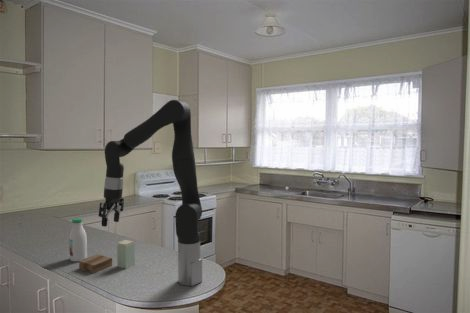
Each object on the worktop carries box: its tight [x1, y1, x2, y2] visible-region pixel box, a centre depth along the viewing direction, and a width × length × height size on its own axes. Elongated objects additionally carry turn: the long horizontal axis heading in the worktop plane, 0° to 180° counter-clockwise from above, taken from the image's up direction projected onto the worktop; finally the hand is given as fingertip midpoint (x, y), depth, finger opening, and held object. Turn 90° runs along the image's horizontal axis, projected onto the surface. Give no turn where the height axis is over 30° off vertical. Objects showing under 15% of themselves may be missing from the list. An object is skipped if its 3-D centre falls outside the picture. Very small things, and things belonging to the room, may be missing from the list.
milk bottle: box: [68, 217, 88, 262], centre depth 171 cm, size 8×8×20 cm
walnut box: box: [78, 254, 113, 274], centre depth 162 cm, size 10×10×4 cm
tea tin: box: [116, 239, 136, 270], centre depth 163 cm, size 5×5×11 cm
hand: (110, 223), depth 153 cm, fingers open, 8 cm apart
